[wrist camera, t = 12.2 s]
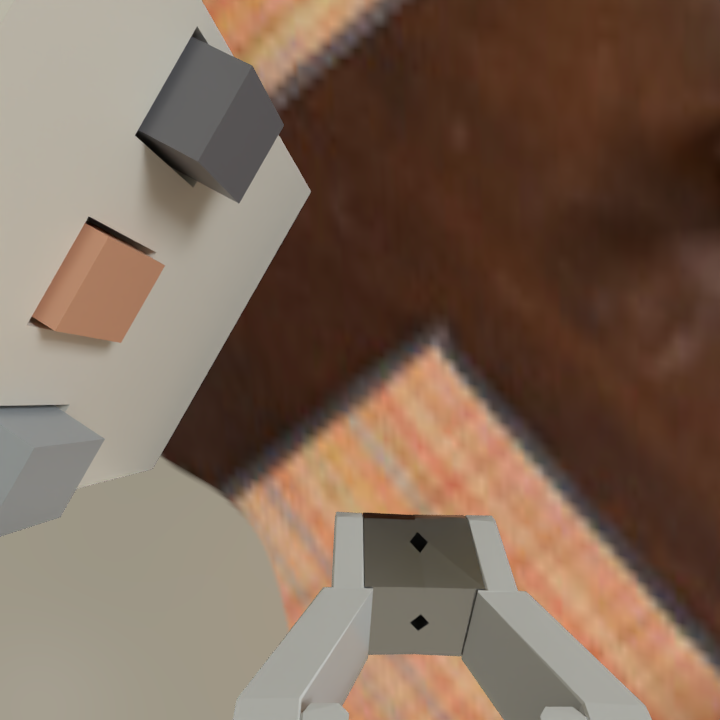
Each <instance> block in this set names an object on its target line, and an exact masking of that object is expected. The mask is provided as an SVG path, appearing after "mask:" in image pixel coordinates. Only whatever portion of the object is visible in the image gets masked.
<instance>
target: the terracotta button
mask: <svg viewBox="0 0 720 720" xmlns="http://www.w3.org/2000/svg"><path fill="white" fill-rule="evenodd" d="M164 267H165V265H164V264H162V263H160V262H159V261H157V260H155V259H153V258H152V257H150V256H148V255H146V254H145V253H143V252H141V251H140V250H138V249H136V248H134V247H133V246H131V245H129V244H127V243H126V242H124V241H122V240H121V239H119V238H117V237H115V236H114V235H112V234H110V233H108V232H107V231H105V230H103V229H102V228H100V227H98V226H96V225H94V224H93V223H91V222H89V221H87V220H86V222H85V224H84V226H83V227H82V229H81V231H80V233H79V234H78V236H77V238H76V240H75V241H74V243H73V245H72V247H71V248H70V250H69V252H68V254H67V255H66V257H65V259H64V261H63V262H62V264H61V266H60V268H59V269H58V271H57V273H56V275H55V276H54V278H53V280H52V282H51V283H50V285H49V287H48V289H47V290H46V292H45V294H44V296H43V297H42V299H41V301H40V303H39V305H38V306H37V308H36V310H35V312H34V313H33V315H32V317H34V318H35V319H37V320H38V321H40V322H41V323H43V324H45V325H46V326H48V327H49V328H51V329H53V330H54V331H57V332H63V333H69V334H74V335H80V336H85V337H91V338H96V339H102V340H108V341H113V342H119V343H121V342H122V340H123V339H124V337H125V335H126V333H127V332H128V330H129V328H130V326H131V325H132V323H133V321H134V319H135V318H136V316H137V314H138V312H139V311H140V309H141V307H142V305H143V304H144V302H145V300H146V298H147V297H148V295H149V293H150V291H151V290H152V288H153V286H154V284H155V282H156V281H157V279H158V277H159V275H160V274H161V272H162V270H163V268H164Z"/></svg>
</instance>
